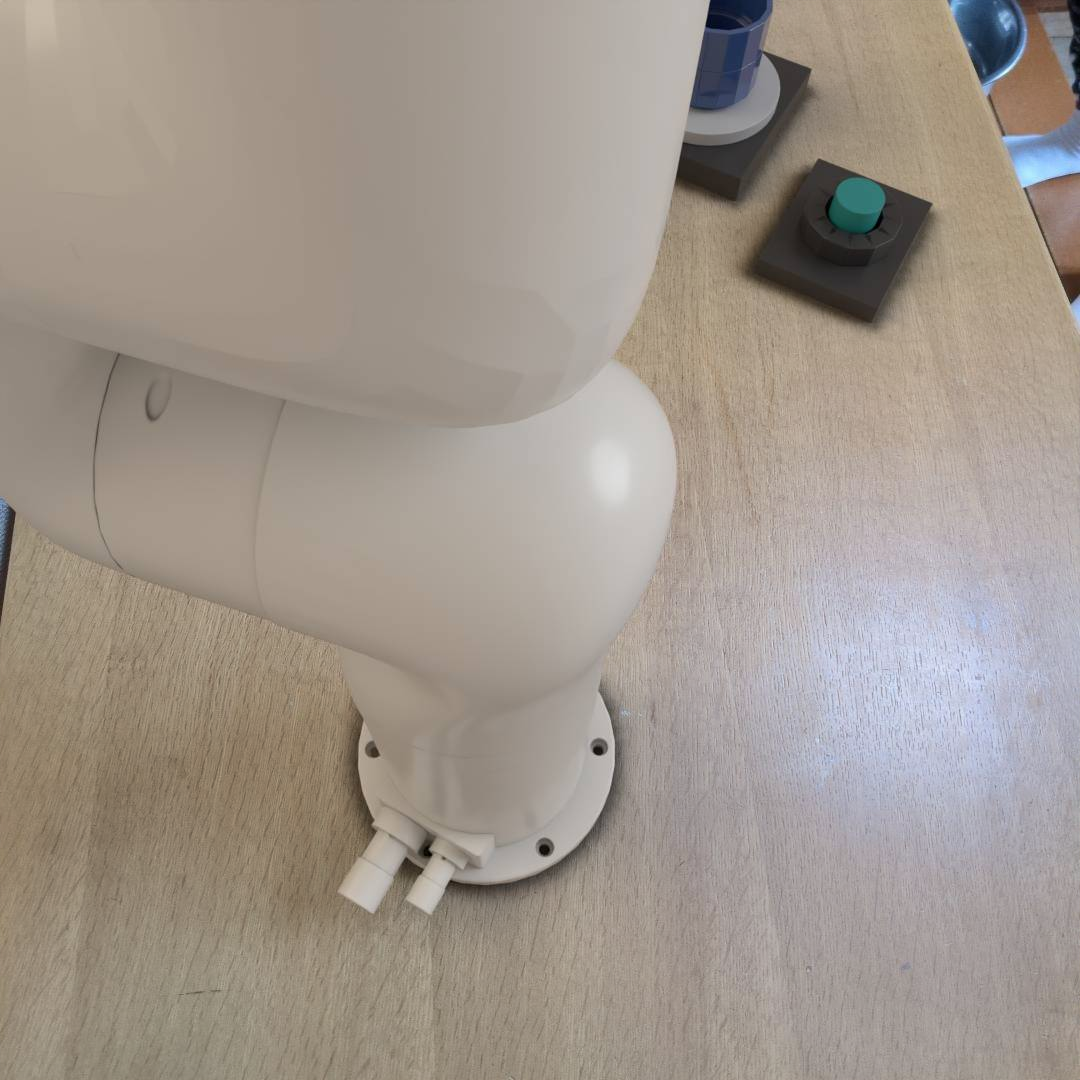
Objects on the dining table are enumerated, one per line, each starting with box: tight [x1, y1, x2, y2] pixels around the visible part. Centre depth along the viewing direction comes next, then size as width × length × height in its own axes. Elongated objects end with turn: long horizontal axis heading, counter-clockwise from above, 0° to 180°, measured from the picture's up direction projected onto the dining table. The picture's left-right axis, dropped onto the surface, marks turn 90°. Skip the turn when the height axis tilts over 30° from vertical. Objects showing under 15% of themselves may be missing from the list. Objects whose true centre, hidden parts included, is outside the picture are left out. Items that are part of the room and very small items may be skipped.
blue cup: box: [690, 0, 774, 110], centre depth 66 cm, size 6×6×6 cm
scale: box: [676, 50, 813, 202], centre depth 70 cm, size 12×11×3 cm
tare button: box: [829, 178, 885, 234], centre depth 64 cm, size 3×3×2 cm
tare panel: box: [753, 157, 933, 324], centre depth 65 cm, size 10×8×3 cm
